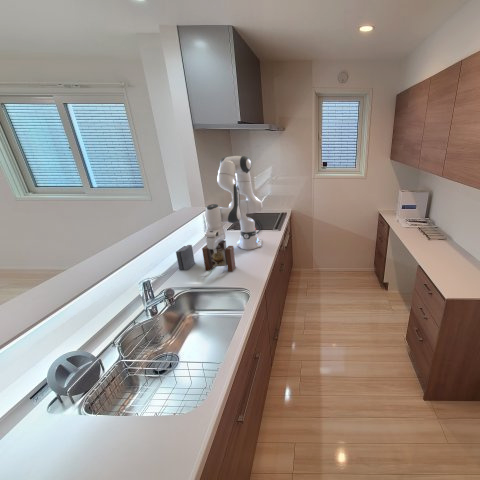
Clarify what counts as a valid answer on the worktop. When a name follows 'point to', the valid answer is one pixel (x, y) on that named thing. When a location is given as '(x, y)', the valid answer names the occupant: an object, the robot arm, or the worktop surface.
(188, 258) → the grey books
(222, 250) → the coffee box
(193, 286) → the worktop surface
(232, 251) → the brown wooden bookends
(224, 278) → the worktop surface
